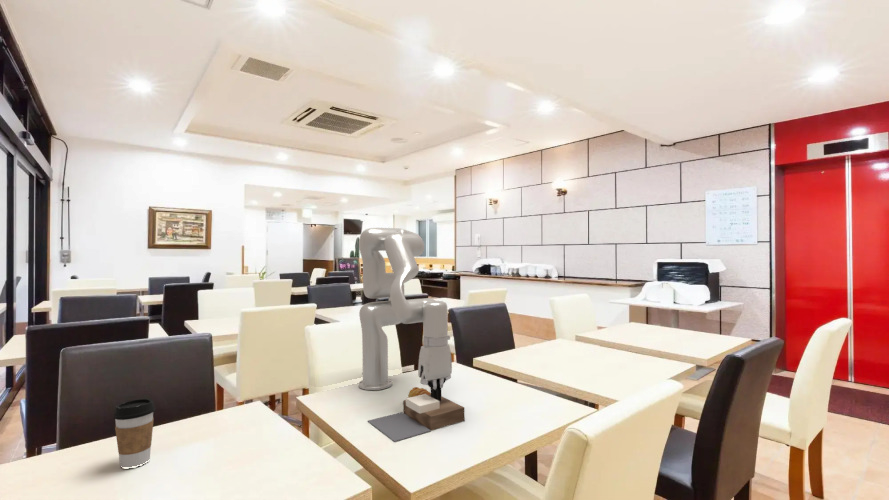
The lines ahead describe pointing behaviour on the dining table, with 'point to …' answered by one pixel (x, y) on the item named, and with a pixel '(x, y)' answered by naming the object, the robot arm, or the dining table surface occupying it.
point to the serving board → (437, 414)
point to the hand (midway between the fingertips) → (436, 400)
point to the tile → (422, 403)
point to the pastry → (417, 392)
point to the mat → (398, 426)
